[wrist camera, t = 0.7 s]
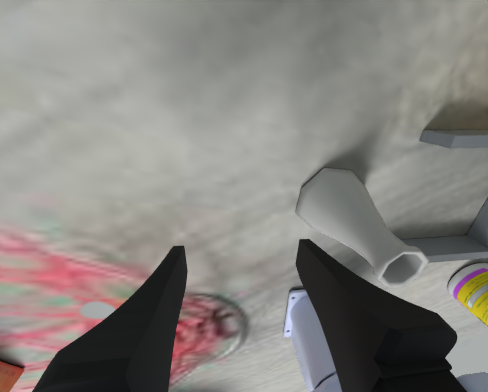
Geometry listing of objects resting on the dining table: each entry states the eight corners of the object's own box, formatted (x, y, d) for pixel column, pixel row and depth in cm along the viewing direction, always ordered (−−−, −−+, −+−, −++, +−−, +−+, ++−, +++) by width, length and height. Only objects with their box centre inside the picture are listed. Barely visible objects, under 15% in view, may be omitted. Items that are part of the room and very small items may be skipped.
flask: (375, 182, 22) (485, 242, 13) (335, 235, 24) (403, 317, 15) (320, 154, 20) (404, 204, 11) (283, 215, 22) (326, 296, 13)
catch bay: (469, 241, 27) (497, 257, 24) (380, 247, 26) (398, 265, 23) (535, 129, 21) (582, 134, 18) (423, 130, 20) (455, 135, 17)
